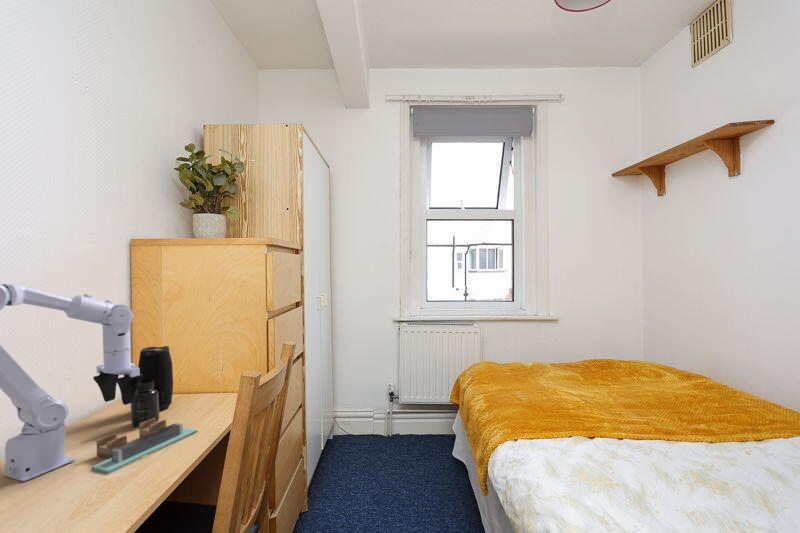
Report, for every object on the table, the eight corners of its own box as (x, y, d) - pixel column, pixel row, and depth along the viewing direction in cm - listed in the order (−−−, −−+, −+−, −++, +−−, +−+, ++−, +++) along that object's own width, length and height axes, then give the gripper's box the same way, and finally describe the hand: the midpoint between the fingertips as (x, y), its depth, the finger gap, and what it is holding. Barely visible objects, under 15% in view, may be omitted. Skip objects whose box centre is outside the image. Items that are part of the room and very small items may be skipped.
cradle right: (151, 441, 99) (151, 425, 99) (139, 438, 101) (138, 423, 101) (166, 435, 102) (165, 420, 102) (154, 432, 104) (153, 417, 104)
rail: (118, 462, 87) (118, 451, 87) (111, 461, 88) (111, 450, 88) (182, 433, 101) (182, 424, 101) (176, 432, 102) (175, 422, 102)
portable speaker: (139, 408, 124) (137, 348, 124) (173, 402, 129) (171, 343, 129) (139, 416, 117) (136, 352, 117) (174, 409, 122) (172, 347, 122)
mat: (108, 473, 83) (108, 470, 83) (91, 469, 86) (91, 466, 86) (197, 432, 104) (197, 429, 104) (181, 429, 106) (181, 427, 106)
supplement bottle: (164, 418, 115) (163, 378, 115) (147, 427, 108) (146, 385, 108) (143, 418, 115) (142, 378, 115) (125, 427, 109) (123, 385, 109)
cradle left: (109, 460, 89) (109, 442, 89) (97, 456, 91) (96, 440, 91) (127, 452, 93) (126, 435, 93) (114, 449, 95) (114, 433, 95)
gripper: (150, 348, 101) (152, 399, 101) (115, 345, 107) (117, 394, 107) (122, 354, 95) (124, 409, 95) (87, 351, 101) (88, 403, 100)
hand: (118, 402), depth 101 cm, fingers open, 7 cm apart
